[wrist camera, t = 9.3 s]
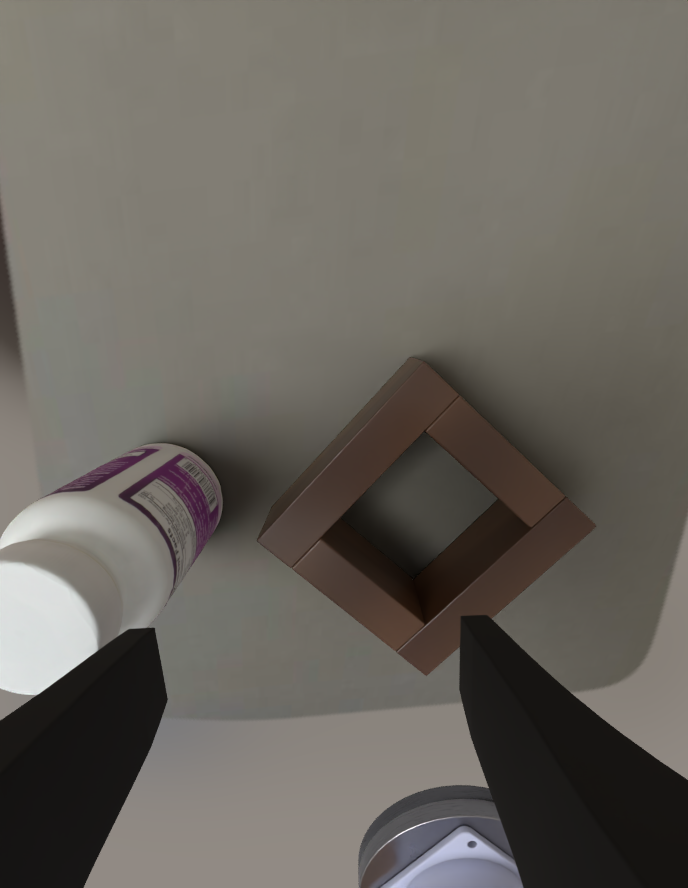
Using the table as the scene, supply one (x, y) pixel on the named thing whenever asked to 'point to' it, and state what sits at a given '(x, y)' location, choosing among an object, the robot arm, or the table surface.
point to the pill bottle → (99, 559)
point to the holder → (463, 562)
